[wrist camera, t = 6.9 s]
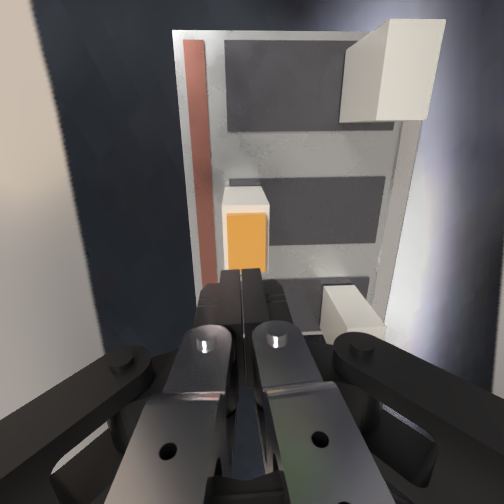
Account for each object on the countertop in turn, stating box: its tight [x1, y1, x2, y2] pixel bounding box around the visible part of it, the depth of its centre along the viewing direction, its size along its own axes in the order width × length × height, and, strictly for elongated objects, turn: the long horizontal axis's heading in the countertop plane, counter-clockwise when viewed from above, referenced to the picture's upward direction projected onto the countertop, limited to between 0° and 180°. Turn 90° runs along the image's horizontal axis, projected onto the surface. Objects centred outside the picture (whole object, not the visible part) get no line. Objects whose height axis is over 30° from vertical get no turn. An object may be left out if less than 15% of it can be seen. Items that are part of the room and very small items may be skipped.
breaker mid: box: [222, 186, 270, 274], centre depth 19 cm, size 4×2×6 cm, turn 0°
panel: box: [172, 30, 423, 337], centre depth 23 cm, size 22×16×2 cm
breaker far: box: [320, 285, 386, 345], centre depth 22 cm, size 4×2×6 cm, turn 0°
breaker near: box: [339, 19, 446, 123], centre depth 16 cm, size 4×2×6 cm, turn 0°
